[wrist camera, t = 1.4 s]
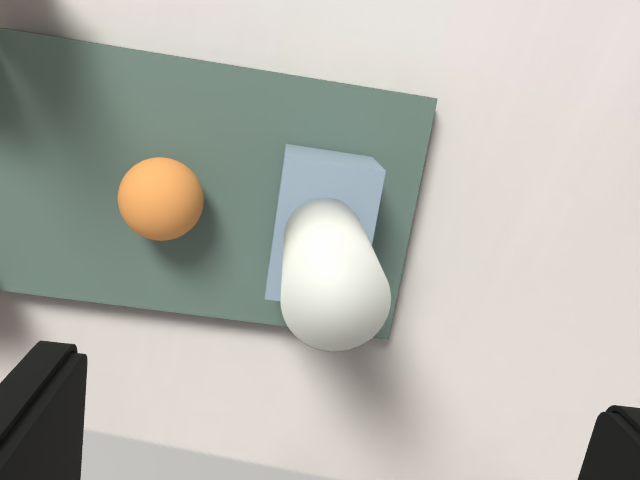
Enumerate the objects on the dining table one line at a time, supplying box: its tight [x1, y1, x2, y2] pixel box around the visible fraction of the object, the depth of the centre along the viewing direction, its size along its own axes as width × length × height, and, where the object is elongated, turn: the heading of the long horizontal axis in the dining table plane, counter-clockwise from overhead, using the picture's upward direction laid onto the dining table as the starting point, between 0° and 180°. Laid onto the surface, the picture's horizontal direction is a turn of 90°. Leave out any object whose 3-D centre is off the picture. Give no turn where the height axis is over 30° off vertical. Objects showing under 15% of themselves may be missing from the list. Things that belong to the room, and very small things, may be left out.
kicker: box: [265, 144, 391, 352], centre depth 22 cm, size 4×6×11 cm, turn 171°
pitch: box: [0, 28, 437, 339], centre depth 28 cm, size 20×12×1 cm, turn 81°
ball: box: [118, 157, 204, 241], centre depth 26 cm, size 4×4×4 cm
